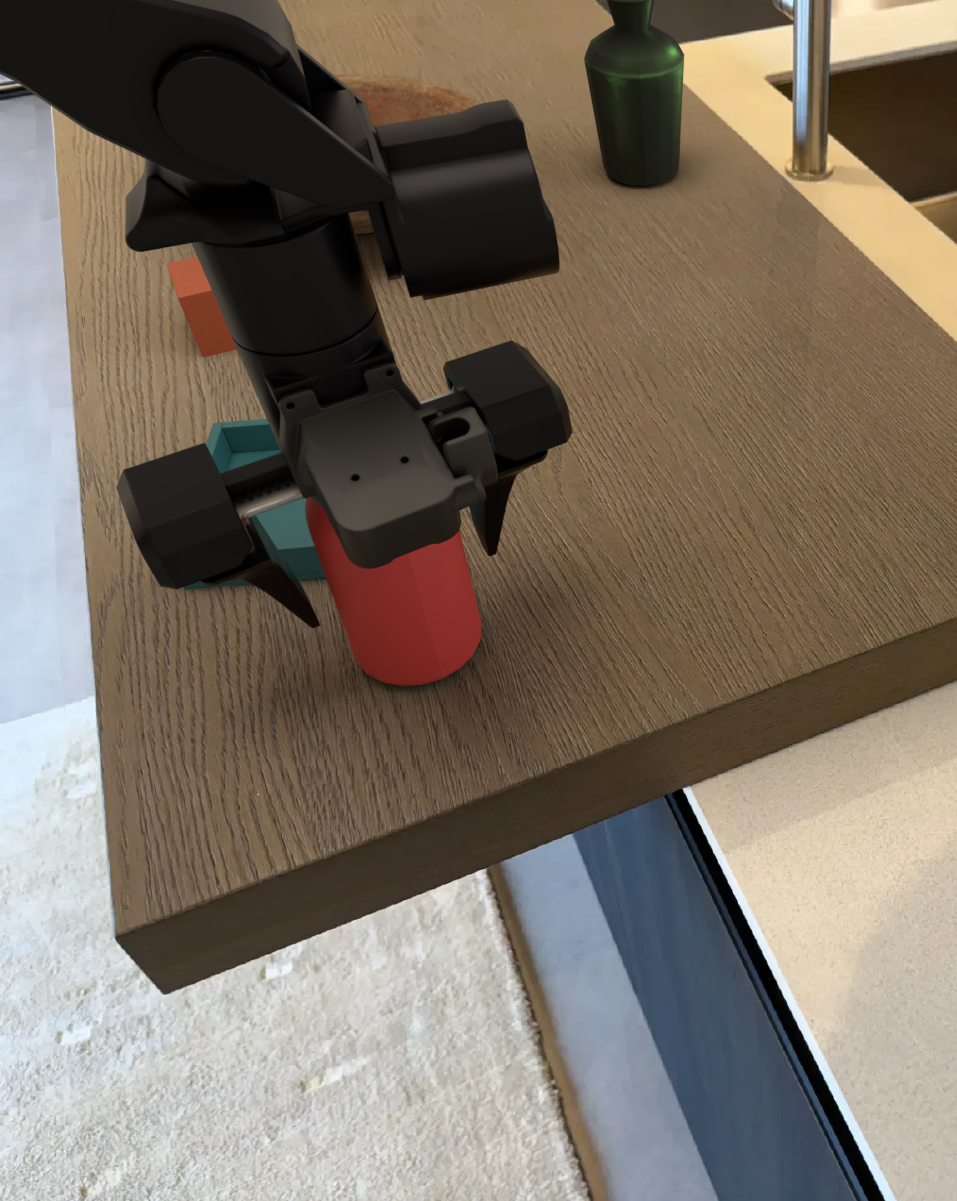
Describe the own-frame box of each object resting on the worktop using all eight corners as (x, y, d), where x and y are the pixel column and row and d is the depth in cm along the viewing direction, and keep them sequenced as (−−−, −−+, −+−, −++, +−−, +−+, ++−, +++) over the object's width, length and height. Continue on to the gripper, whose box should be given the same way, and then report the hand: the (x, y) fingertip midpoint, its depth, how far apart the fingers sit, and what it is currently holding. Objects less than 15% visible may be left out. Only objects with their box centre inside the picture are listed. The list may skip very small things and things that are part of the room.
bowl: (549, 250, 90) (536, 152, 84) (231, 316, 82) (193, 212, 76) (466, 130, 104) (450, 39, 98) (189, 177, 96) (154, 80, 90)
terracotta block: (204, 361, 78) (177, 297, 74) (193, 326, 81) (166, 262, 77) (280, 342, 80) (256, 279, 76) (265, 308, 83) (242, 245, 79)
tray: (185, 592, 63) (167, 559, 61) (227, 454, 71) (212, 422, 69) (411, 570, 64) (401, 537, 62) (426, 437, 73) (417, 406, 71)
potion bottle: (706, 177, 98) (700, -53, 85) (622, 199, 95) (604, -36, 82) (659, 141, 103) (647, -82, 90) (578, 161, 99) (553, -68, 87)
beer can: (441, 707, 57) (391, 533, 49) (329, 671, 59) (260, 495, 50) (506, 619, 62) (470, 444, 53) (400, 587, 63) (348, 412, 54)
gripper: (93, 513, 38) (258, 782, 49) (601, 338, 45) (643, 609, 56) (41, 352, 44) (197, 623, 55) (491, 221, 51) (549, 485, 62)
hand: (404, 585), depth 57 cm, fingers open, 9 cm apart
